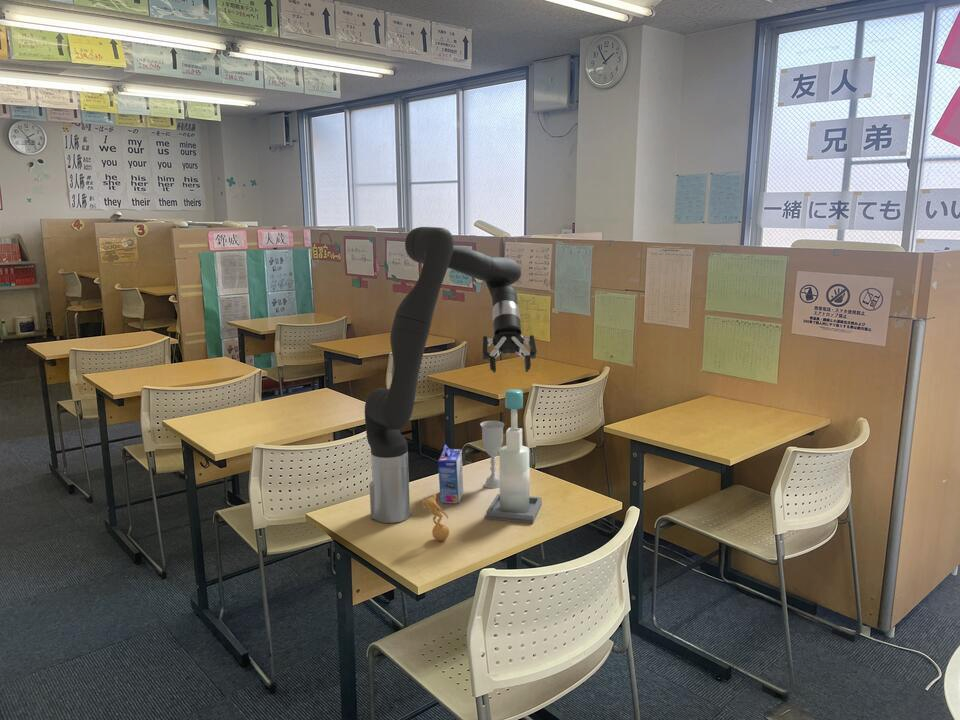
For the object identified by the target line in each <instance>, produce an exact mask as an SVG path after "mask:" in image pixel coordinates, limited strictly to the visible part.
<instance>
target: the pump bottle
mask: <svg viewBox="0 0 960 720" xmlns="http://www.w3.org/2000/svg"><path fill="white" fill-rule="evenodd" d="M505 434H506V435H505V437H506V438H505V439H506V440H505V441H506V443H505V445H504V446H501V448H500V449H499V453H498V454H499V467H498V468H499V469H498V470H499V473H498V474H499V476H498V477H499V480H500V487H499V493H497V494H496V495H495V497H494V499H493V500H492V502H491V503H490V505H489V506H488V508H487V510H486V512H485V513H486V514H485V515H486V517H485V518H486V519H487V520H496V521H505V522H506V521H507V522H515V523H516V522H517V523H527V524H534V523H535V520H536V518H537V516H538V513H539V511H540V509H541V507H542V504H543V503H542V497H539V496H530V481H531V479H530V477H531V476H530V475H531V473H530V470H531V469H530V448H529V447H527V446H525V445H523V428H519V427H517V429H516V430H512V429H511V427H508V428H507V430H506V431H505Z"/></svg>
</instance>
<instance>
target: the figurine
mask: <svg viewBox="0 0 960 720" xmlns="http://www.w3.org/2000/svg"><path fill="white" fill-rule="evenodd" d="M436 499H437V495H436V494H435V493H433V494H432V495H431V496H430V497H428V498H426V499H423V500H421V503H422V508H423V509H429V512H430V514H432V515H433V517H432V520H433V523H434V524H435V525H434V526H433V528H432V531H431V533H432V537H433V538H434V539H435V540H436V541H438V542H439V541H440V542H441V541H446V540H447V538H448V537H449V535H450V529H449V527H448V526H447V525H446V524H445V523H440V522H441V520H442V518H443V515H444V516H445V517H446V519H449V516H448V514H447V513H446V512H445V511H444V510H443V508H441V507H440V505H439V504H437V501H436ZM437 509H438V510H437ZM437 517H438V519H437ZM436 519H437V521H436Z"/></svg>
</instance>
